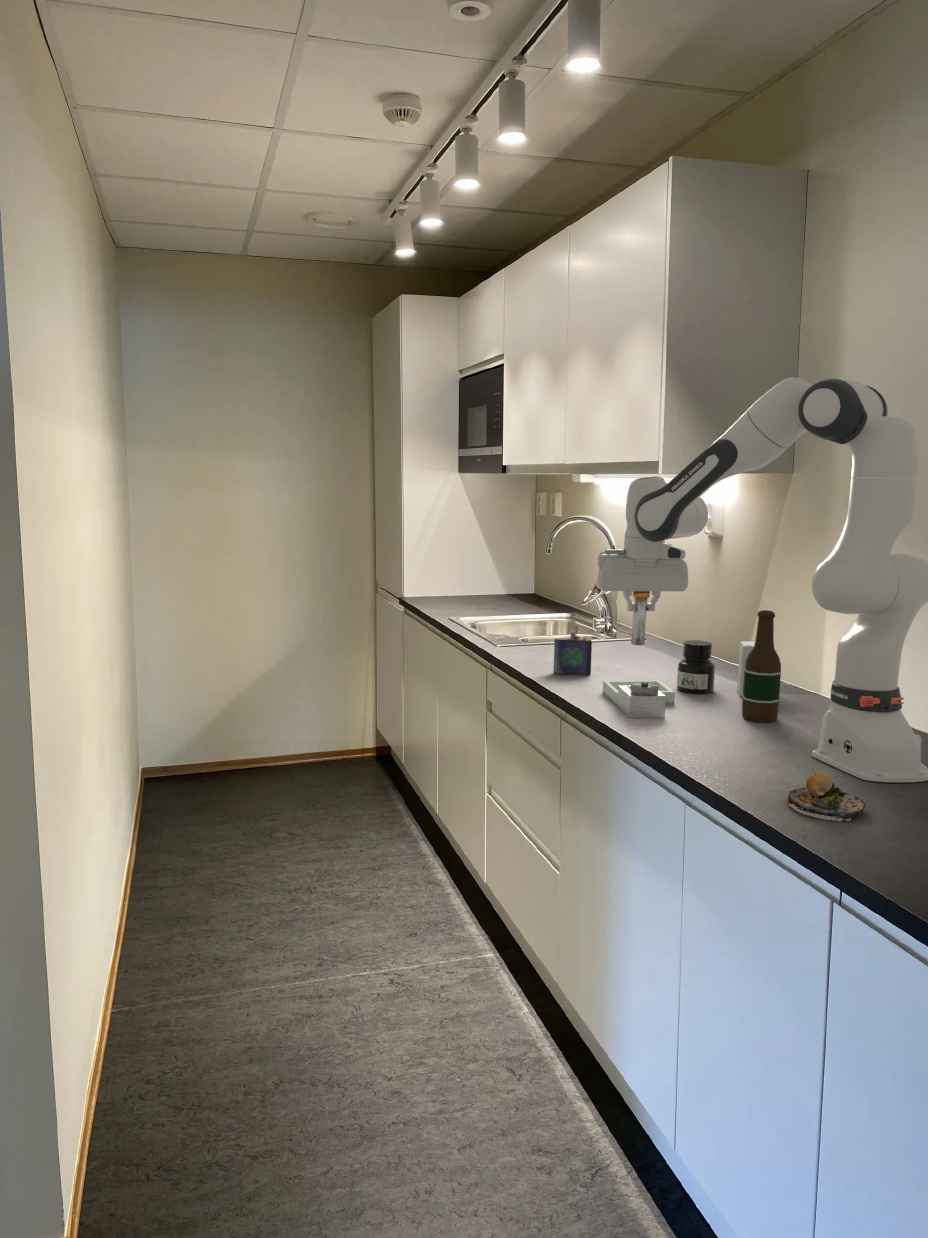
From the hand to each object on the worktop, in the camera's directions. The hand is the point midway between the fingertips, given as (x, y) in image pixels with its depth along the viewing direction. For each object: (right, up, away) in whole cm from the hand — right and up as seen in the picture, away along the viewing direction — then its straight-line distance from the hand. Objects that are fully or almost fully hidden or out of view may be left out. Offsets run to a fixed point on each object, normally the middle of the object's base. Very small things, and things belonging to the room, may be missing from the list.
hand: (640, 610), depth 210 cm
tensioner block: (0, -23, 0) cm, 23 cm away
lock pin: (0, -8, +2) cm, 8 cm away
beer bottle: (+25, -24, -4) cm, 35 cm away
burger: (+19, -33, -58) cm, 70 cm away
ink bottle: (+18, -20, +22) cm, 34 cm away
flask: (-11, -17, +38) cm, 43 cm away
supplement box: (+31, -21, +18) cm, 41 cm away
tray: (+2, -21, +12) cm, 24 cm away
